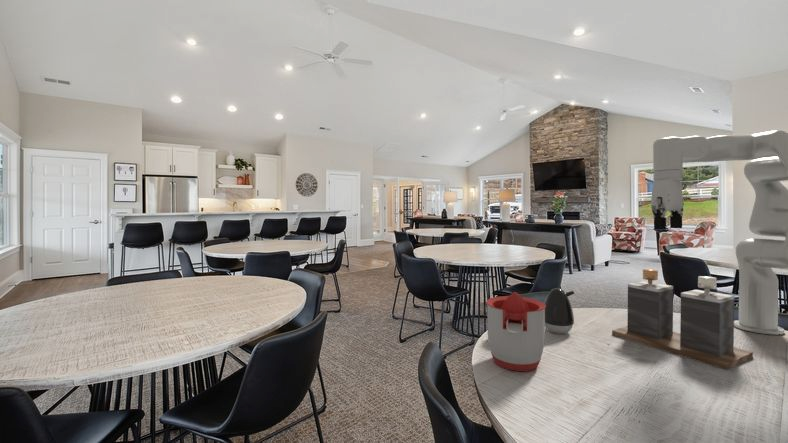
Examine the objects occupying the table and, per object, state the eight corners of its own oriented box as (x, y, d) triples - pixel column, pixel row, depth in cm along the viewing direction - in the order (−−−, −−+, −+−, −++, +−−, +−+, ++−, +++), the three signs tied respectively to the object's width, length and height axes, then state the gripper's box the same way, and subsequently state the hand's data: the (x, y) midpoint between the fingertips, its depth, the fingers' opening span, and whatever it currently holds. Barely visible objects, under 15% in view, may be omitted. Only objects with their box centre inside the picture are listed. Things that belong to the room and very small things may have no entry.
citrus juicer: (483, 373, 92) (482, 298, 91) (489, 349, 108) (488, 284, 107) (548, 383, 86) (548, 302, 86) (544, 355, 103) (544, 287, 102)
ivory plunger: (697, 340, 107) (698, 274, 107) (727, 348, 101) (728, 278, 101) (685, 344, 104) (686, 276, 104) (715, 353, 98) (716, 280, 97)
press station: (639, 326, 126) (639, 278, 126) (752, 357, 100) (753, 296, 99) (612, 334, 119) (612, 283, 119) (727, 369, 92) (728, 303, 92)
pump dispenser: (578, 337, 117) (578, 292, 116) (545, 335, 119) (545, 291, 119) (569, 327, 127) (569, 285, 126) (539, 325, 129) (539, 284, 129)
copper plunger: (644, 326, 121) (644, 267, 120) (667, 332, 114) (668, 270, 114) (632, 329, 118) (632, 269, 117) (655, 336, 111) (656, 272, 111)
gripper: (668, 177, 121) (669, 227, 122) (640, 177, 113) (640, 230, 114) (695, 175, 114) (695, 227, 115) (666, 174, 107) (667, 230, 107)
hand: (668, 228), depth 114 cm, fingers open, 9 cm apart
